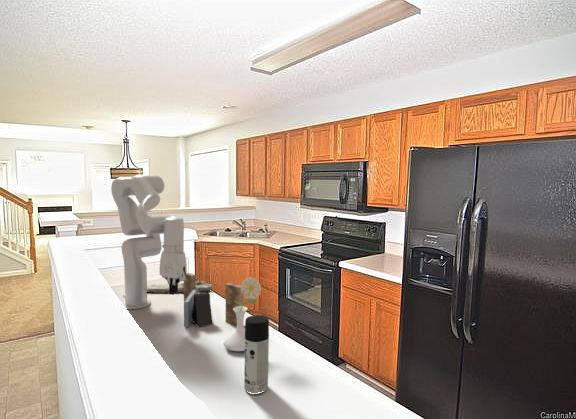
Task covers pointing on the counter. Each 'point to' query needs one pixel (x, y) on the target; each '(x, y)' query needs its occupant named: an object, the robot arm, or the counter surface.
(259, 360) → the spray can
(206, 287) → the long grey stone
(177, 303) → the counter surface
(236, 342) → the flower in vase
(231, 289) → the brown wooden blocks
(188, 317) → the blue rectangular panel
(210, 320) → the phone stand
